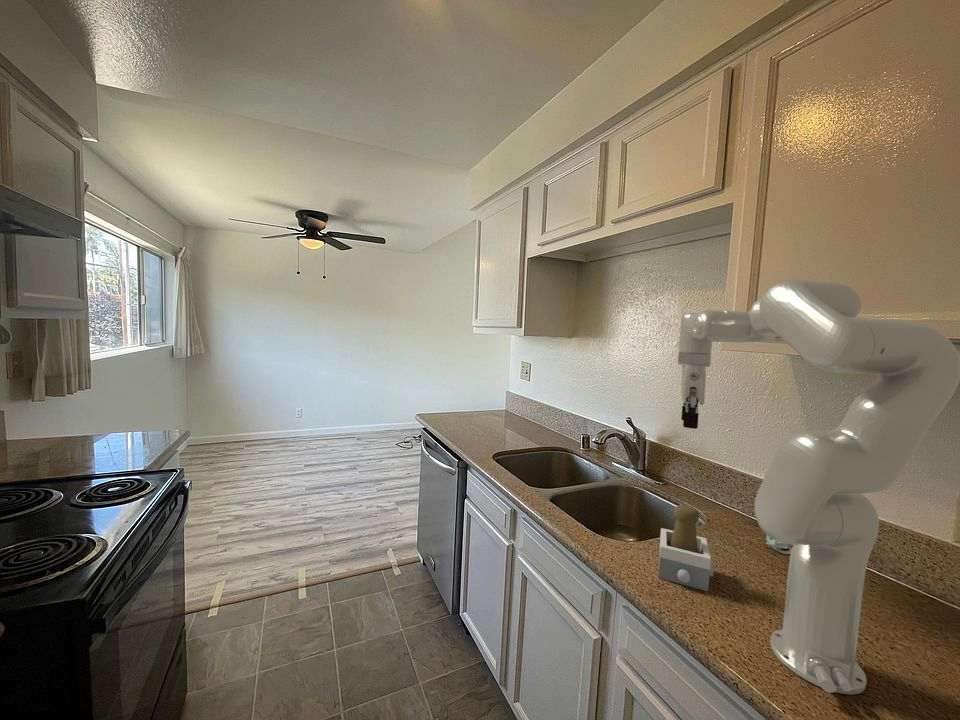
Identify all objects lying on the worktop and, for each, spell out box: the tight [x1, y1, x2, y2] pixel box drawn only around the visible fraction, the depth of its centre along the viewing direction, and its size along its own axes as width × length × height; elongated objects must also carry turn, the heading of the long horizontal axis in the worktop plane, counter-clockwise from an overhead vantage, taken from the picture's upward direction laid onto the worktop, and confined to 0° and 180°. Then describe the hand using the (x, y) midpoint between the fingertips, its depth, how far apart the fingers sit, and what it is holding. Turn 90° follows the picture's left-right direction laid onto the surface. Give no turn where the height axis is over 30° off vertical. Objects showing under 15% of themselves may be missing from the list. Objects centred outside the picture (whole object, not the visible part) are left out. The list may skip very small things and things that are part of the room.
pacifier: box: [765, 534, 792, 555], centre depth 105 cm, size 7×6×6 cm
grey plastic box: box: [658, 527, 714, 592], centre depth 91 cm, size 11×11×8 cm
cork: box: [670, 504, 700, 553], centre depth 91 cm, size 6×6×11 cm
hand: (688, 424), depth 103 cm, fingers open, 9 cm apart
